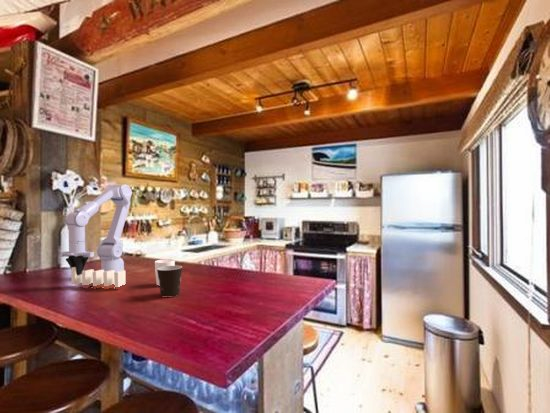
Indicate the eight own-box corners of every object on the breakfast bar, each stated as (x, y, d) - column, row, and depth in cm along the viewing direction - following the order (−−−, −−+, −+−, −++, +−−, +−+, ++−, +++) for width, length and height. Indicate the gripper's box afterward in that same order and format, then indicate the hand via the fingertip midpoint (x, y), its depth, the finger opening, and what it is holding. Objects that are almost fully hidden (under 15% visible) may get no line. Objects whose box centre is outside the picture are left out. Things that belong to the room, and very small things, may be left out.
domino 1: (80, 282, 128) (80, 265, 129) (83, 282, 128) (83, 265, 128) (71, 284, 124) (71, 267, 124) (74, 284, 124) (74, 267, 124)
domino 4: (111, 286, 125) (111, 269, 125) (115, 286, 125) (114, 269, 125) (103, 289, 121) (103, 272, 121) (107, 289, 121) (106, 272, 121)
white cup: (178, 282, 130) (177, 259, 130) (170, 287, 123) (169, 262, 123) (160, 282, 131) (160, 259, 131) (151, 287, 123) (151, 262, 123)
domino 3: (101, 286, 126) (100, 269, 126) (104, 286, 126) (104, 269, 126) (92, 289, 122) (92, 271, 122) (96, 289, 122) (95, 271, 122)
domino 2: (90, 286, 127) (90, 269, 127) (94, 286, 127) (93, 269, 127) (82, 288, 123) (81, 271, 123) (85, 289, 123) (85, 271, 123)
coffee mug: (178, 298, 107) (177, 270, 107) (153, 298, 107) (153, 270, 107) (188, 289, 119) (187, 263, 119) (166, 289, 119) (165, 264, 119)
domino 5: (122, 287, 124) (122, 270, 124) (125, 287, 124) (125, 270, 124) (114, 290, 120) (114, 272, 120) (118, 290, 120) (117, 272, 120)
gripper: (53, 242, 124) (54, 276, 124) (84, 242, 121) (84, 277, 121) (68, 240, 131) (69, 272, 131) (97, 240, 128) (98, 273, 128)
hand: (77, 274), depth 126 cm, fingers closed on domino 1, 1 cm apart
